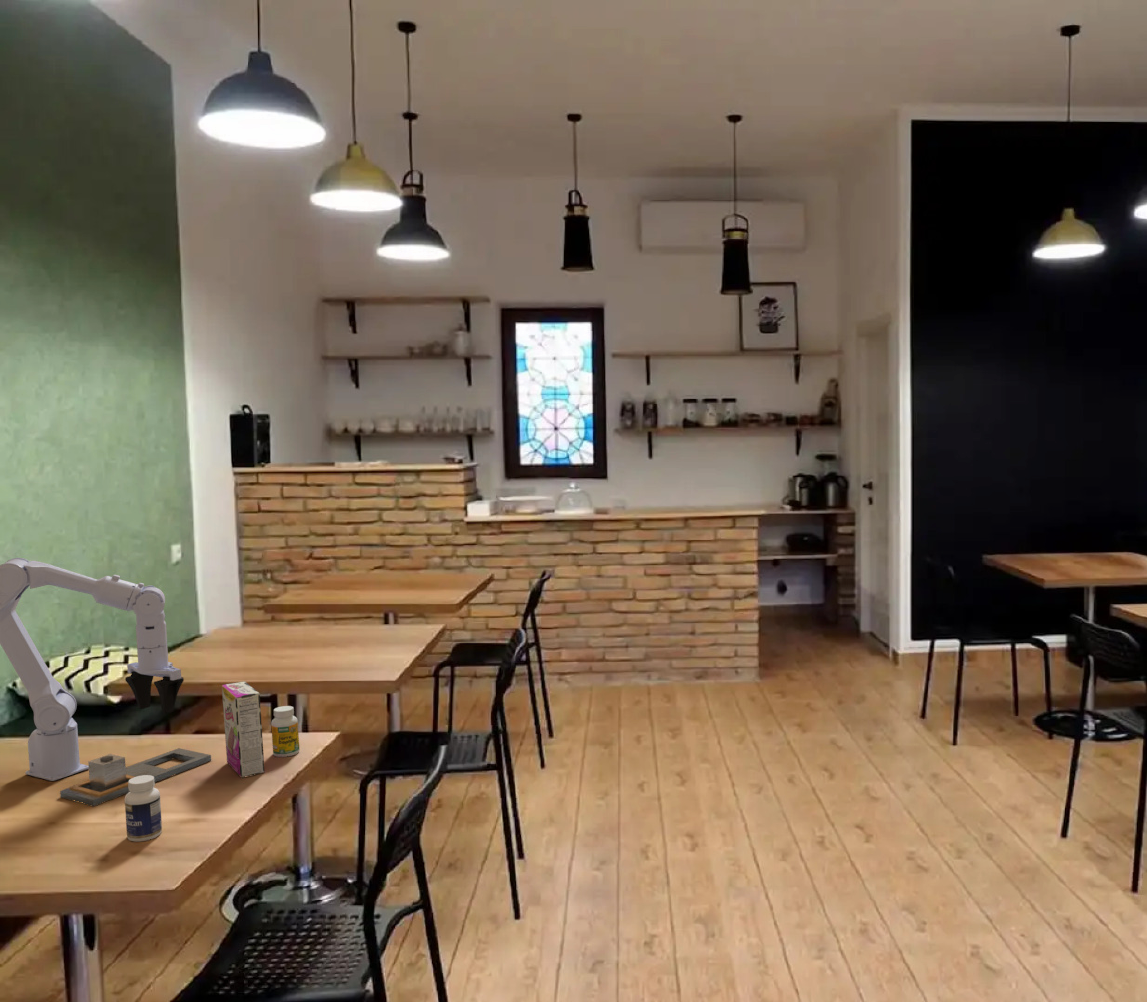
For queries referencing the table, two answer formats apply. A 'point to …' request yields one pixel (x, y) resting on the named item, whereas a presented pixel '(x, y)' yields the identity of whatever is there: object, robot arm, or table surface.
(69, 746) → the robot arm
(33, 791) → the table surface
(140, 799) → the pill bottle
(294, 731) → the supplement bottle
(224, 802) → the table surface
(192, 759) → the rail
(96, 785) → the metal block with knob
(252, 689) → the candy bar box
